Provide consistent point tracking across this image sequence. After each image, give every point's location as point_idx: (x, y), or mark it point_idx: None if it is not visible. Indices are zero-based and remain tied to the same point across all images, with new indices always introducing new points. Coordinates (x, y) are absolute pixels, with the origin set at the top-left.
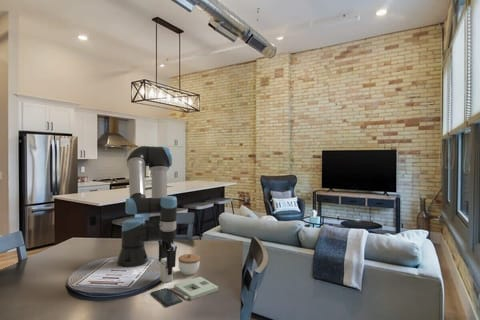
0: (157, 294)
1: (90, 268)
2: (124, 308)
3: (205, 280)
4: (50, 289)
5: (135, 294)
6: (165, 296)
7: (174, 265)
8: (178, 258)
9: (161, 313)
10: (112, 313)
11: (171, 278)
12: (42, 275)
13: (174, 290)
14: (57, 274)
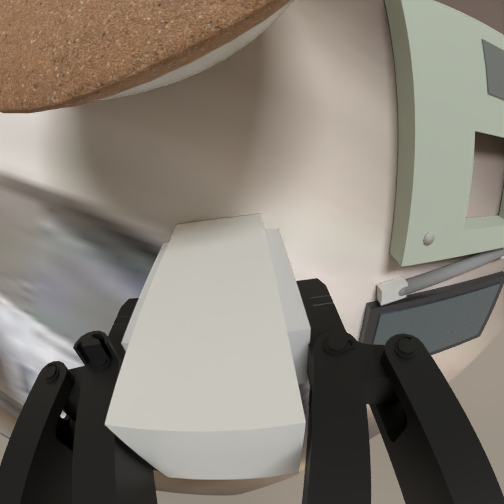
0: None
1: None
2: (372, 423)
3: (476, 29)
4: None
5: (307, 408)
6: (441, 331)
7: (423, 360)
8: (4, 112)
9: (479, 348)
10: (369, 435)
11: (283, 242)
12: None
13: (442, 280)
14: None
